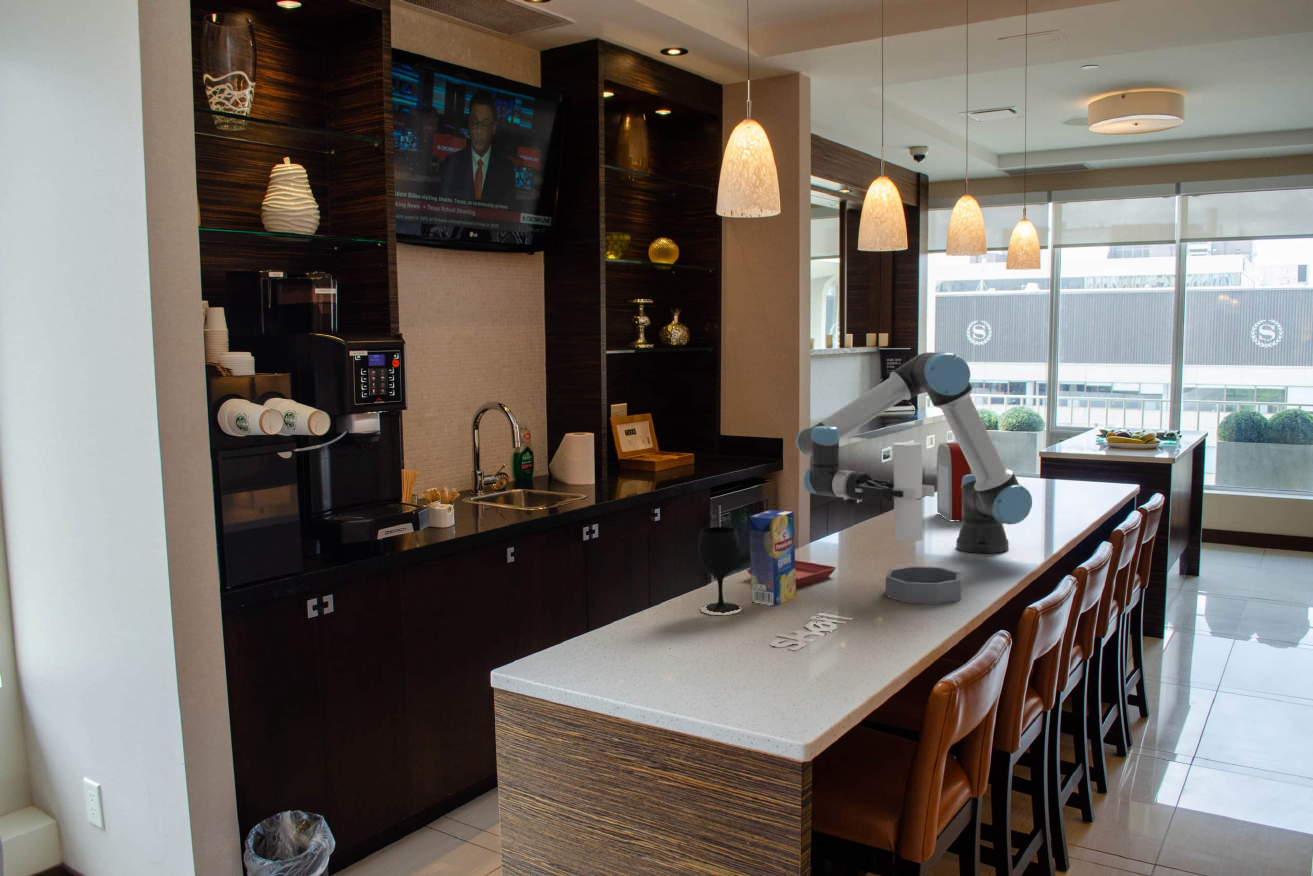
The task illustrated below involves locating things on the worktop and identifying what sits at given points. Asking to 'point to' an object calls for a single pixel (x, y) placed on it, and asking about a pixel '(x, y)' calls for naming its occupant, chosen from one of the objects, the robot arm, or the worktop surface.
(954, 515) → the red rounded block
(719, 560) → the wine glass
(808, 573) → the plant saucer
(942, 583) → the bowl
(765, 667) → the worktop surface
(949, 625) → the worktop surface
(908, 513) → the cylindrical container
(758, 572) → the beverage box
